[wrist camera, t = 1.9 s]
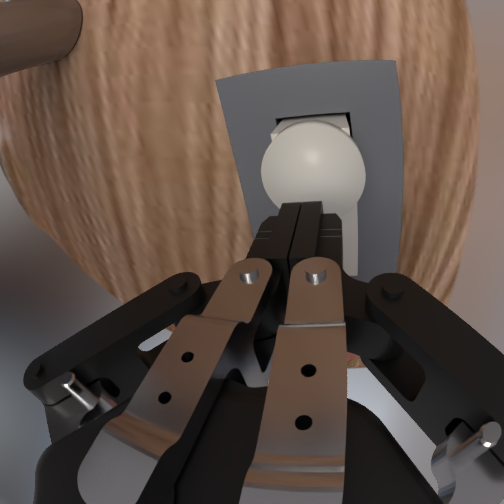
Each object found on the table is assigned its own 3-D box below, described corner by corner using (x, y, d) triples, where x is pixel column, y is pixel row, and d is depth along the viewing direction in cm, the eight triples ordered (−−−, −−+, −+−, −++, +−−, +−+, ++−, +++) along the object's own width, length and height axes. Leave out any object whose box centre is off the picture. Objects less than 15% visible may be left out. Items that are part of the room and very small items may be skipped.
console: (243, 75, 23) (214, 80, 17) (378, 61, 19) (396, 60, 13) (288, 298, 38) (278, 342, 32) (380, 297, 34) (384, 344, 28)
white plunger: (276, 109, 20) (251, 131, 14) (351, 102, 18) (361, 121, 12) (288, 176, 23) (271, 223, 17) (357, 172, 21) (366, 220, 15)
